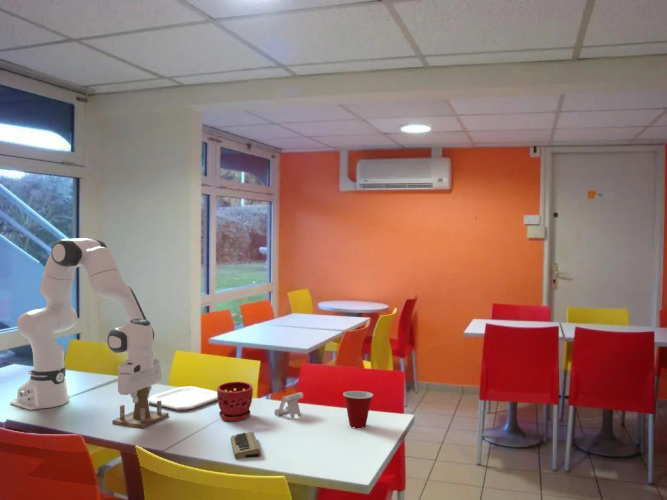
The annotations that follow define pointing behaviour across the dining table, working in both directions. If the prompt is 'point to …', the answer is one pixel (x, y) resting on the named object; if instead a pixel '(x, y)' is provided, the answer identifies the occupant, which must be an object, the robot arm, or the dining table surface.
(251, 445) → the computer
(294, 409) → the portable electronic device stand
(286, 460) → the dining table surface
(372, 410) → the dining table surface
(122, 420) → the standoff base
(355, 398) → the plastic cup
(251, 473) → the dining table surface
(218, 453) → the dining table surface
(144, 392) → the olive gourd
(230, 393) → the plant pot
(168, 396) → the plate
